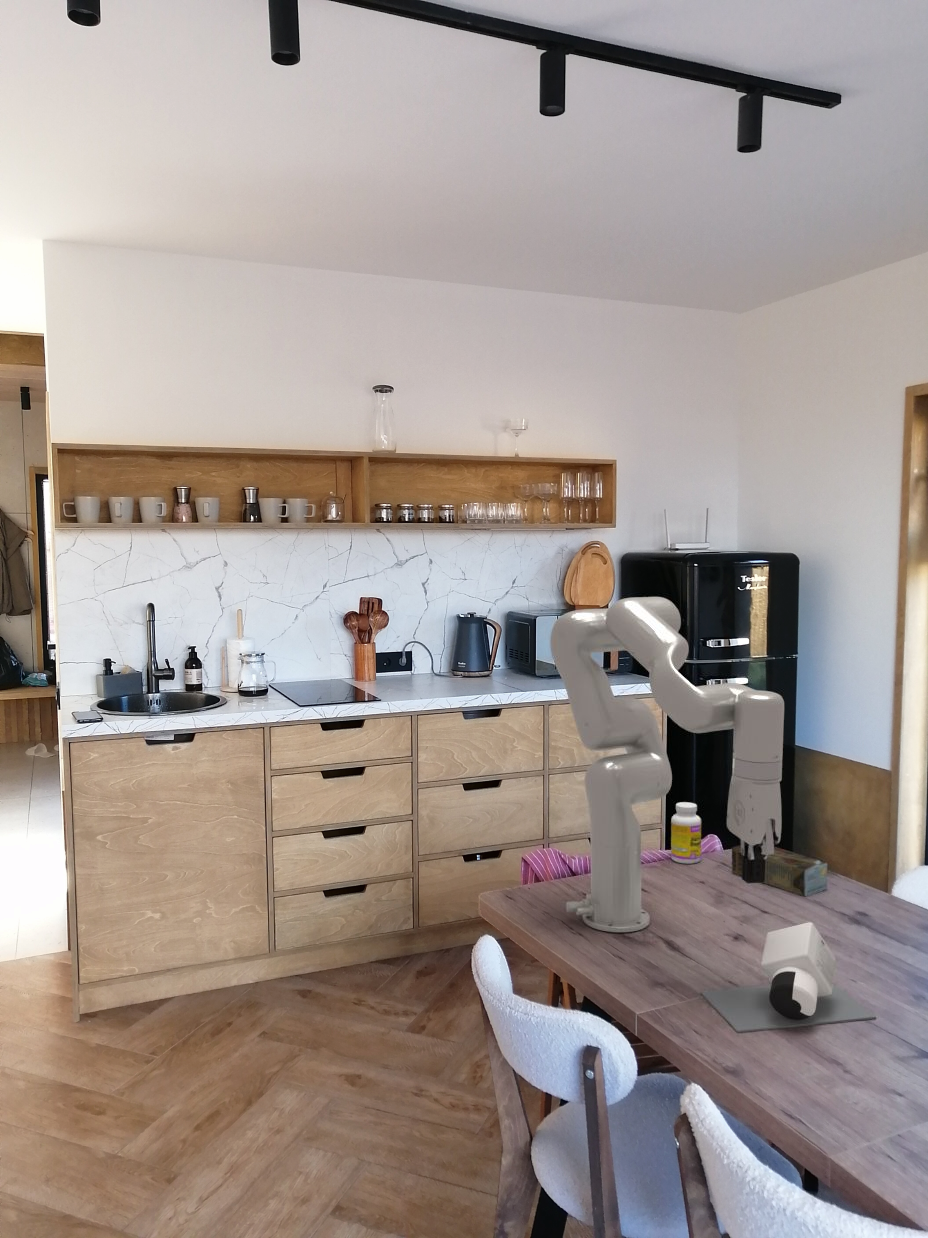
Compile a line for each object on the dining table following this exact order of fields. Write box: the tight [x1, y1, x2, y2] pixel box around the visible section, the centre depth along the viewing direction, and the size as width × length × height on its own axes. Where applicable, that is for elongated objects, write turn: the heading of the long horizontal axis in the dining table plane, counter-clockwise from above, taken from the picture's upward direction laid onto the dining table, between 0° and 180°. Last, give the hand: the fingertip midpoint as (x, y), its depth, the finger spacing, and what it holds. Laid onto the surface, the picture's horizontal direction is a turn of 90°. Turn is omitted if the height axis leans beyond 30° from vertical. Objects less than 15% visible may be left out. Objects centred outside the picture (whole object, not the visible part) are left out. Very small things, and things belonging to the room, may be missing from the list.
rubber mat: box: [700, 982, 877, 1034], centre depth 147 cm, size 22×13×1 cm, turn 100°
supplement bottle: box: [670, 801, 702, 865], centre depth 219 cm, size 7×7×13 cm
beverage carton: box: [731, 844, 828, 897], centre depth 204 cm, size 8×19×7 cm, turn 34°
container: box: [760, 921, 837, 1020], centre depth 145 cm, size 8×8×13 cm
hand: (753, 881), depth 154 cm, fingers closed
